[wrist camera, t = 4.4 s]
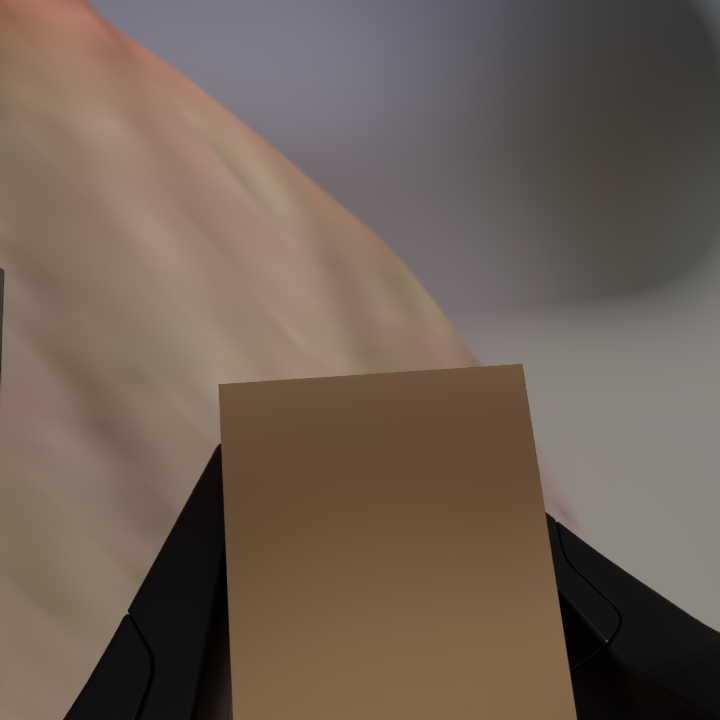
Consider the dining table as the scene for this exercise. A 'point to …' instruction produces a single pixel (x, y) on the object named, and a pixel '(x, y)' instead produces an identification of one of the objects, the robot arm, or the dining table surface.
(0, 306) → the grey hollow block
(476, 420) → the tan squared block
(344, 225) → the dining table surface
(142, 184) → the dining table surface
